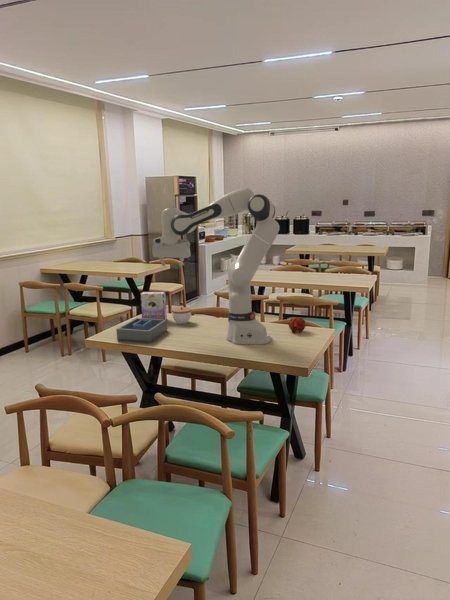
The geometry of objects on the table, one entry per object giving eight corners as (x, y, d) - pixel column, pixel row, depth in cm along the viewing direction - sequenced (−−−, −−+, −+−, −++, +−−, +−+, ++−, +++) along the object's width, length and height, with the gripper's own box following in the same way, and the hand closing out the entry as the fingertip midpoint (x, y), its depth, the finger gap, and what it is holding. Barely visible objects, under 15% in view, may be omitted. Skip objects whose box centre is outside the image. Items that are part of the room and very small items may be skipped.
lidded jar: (171, 320, 273) (171, 305, 270) (190, 319, 274) (189, 304, 272) (173, 325, 262) (172, 309, 260) (192, 324, 264) (191, 308, 262)
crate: (167, 330, 253) (166, 319, 252) (149, 342, 232) (149, 331, 231) (136, 328, 258) (136, 317, 257) (117, 340, 237) (116, 328, 236)
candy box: (167, 318, 277) (165, 291, 274) (164, 321, 272) (163, 293, 268) (144, 318, 279) (142, 291, 275) (141, 321, 273) (140, 293, 269)
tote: (152, 331, 249) (151, 320, 247) (144, 336, 239) (143, 325, 238) (141, 330, 250) (141, 319, 249) (133, 335, 241) (132, 324, 240)
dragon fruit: (301, 331, 253) (295, 340, 243) (288, 321, 254) (282, 330, 244) (310, 320, 249) (304, 329, 238) (297, 310, 250) (291, 319, 239)
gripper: (191, 239, 242) (192, 265, 245) (155, 238, 248) (156, 264, 251) (187, 240, 236) (188, 267, 239) (150, 239, 242) (151, 266, 245)
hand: (172, 266), depth 245 cm, fingers open, 8 cm apart
